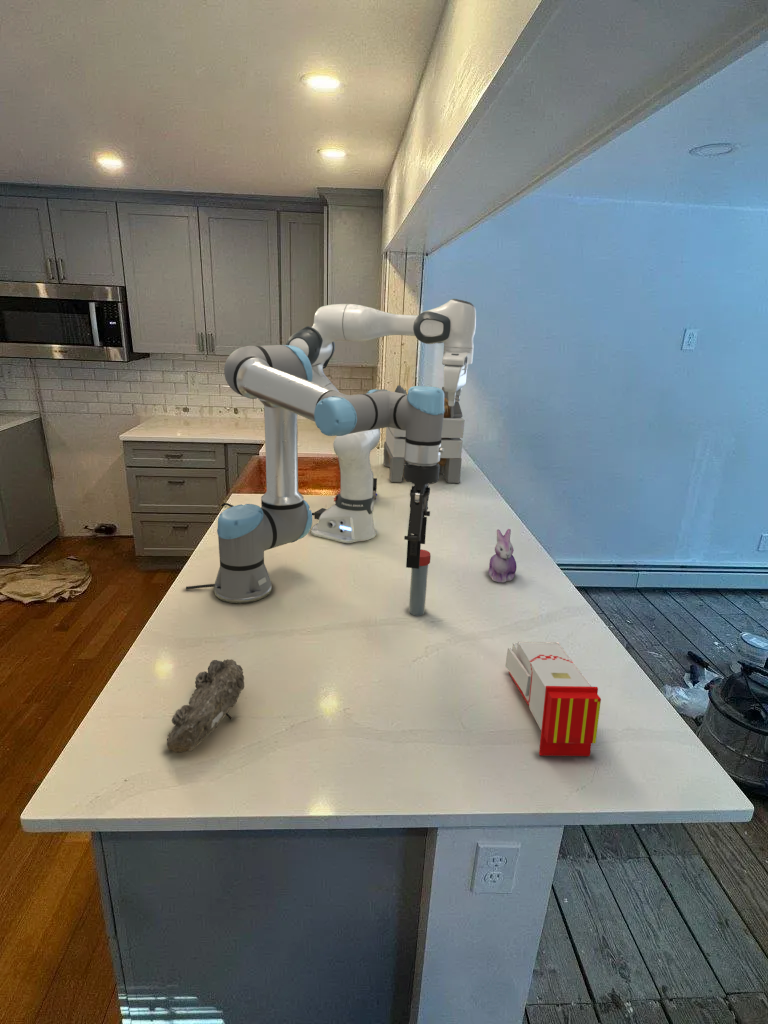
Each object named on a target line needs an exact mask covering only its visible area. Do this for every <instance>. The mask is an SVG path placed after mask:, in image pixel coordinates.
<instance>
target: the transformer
mask: <svg viewBox="0 0 768 1024" xmlns="http://www.w3.org/2000/svg"><path fill="white" fill-rule="evenodd" d="M441 389H442V390H443V392H444V408H445V412H444V418H443V426H442V435H441V446H440V448H443V449H444V452H442V453H441V452H440V461H439V462H438V464H439V465H440V469H439V473H440V474H441V475H443V478H444V479H445V481H446V482H447V483H449V484H455V483H456V484H459V483H461V472H462V461H463V460H462V453H463V442H464V441H463V440H462V439H463V438H464V431H465V430H464V429H465V419H464V418H463V411H462V408H461V405H460V401H458V402H455V405H454V406H449V405H448V401H449V400H448V392H445V390H444V386H442V387H441ZM394 392H397V393H402V394H408V392H407V390H406V389H404V388H403V387H402V385H399V384H398V385H397V386H396V388H395V390H394ZM405 439H406V430H400V429H396V428H390V427H386V428H385V438H384V442H383V466H384V467H388V468H389V475H388V476H389V477H388V478H389V480H390V482H391V483H402V482H403V475H404V463H405V462H406V460H405V459H404V451H405Z"/></svg>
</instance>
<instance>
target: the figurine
mask: <svg viewBox="0 0 768 1024" xmlns="http://www.w3.org/2000/svg"><path fill="white" fill-rule="evenodd" d="M495 532H496V544H495V547H494V553H495V554H493V555H492V556H491V557H490V559H489V564H488V565H489V566H488V567H489V568H488V577H490V578H491V580H492V581H493V582H496V583H497V582H498V583H506V582H510V581H512V580H513V579H514V578H515V575H516V571H517V568H518V567H517V561H516V559H515V557H514V555H513V553H514V549H515V548H514V547H513V544H512V542H511V536H512V535H511V534H512V529H511V528H508V529H506V531H505V533H504V535H503V533H502V532H501V530H500V529H496V531H495Z"/></svg>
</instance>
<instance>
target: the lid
mask: <svg viewBox="0 0 768 1024" xmlns="http://www.w3.org/2000/svg"><path fill="white" fill-rule="evenodd" d="M430 563H431V552H430V551H428V550H426V549H421V548H420V562H419V566H426V565H428V566H429V565H430Z"/></svg>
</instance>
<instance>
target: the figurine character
mask: <svg viewBox="0 0 768 1024" xmlns="http://www.w3.org/2000/svg"><path fill="white" fill-rule="evenodd" d="M377 484H378V478H377V477H373V496H374V500H376V498H377V496H378V493H377V487H378V485H377Z"/></svg>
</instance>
